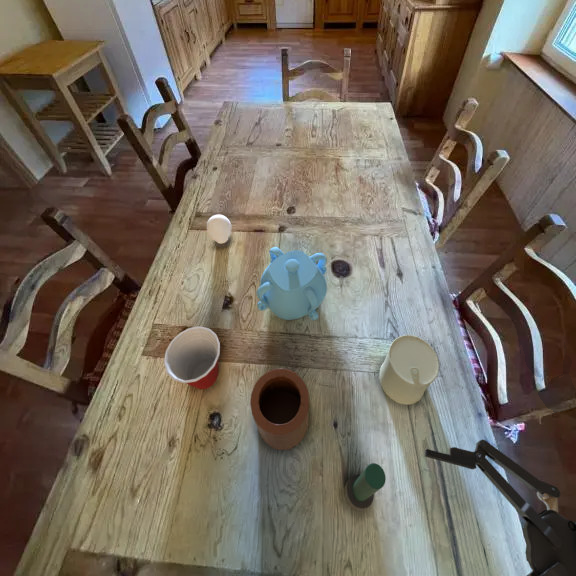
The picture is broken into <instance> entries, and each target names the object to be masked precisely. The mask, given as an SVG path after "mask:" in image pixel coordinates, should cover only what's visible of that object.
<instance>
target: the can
mask: <svg viewBox="0 0 576 576" xmlns="http://www.w3.org/2000/svg"><path fill="white" fill-rule="evenodd" d="M439 372H440V361H439V357H438V355H437V353H436V351H435V349H434V348H433V347H432V346H431V345H430V344H429V343H428V342H427V341H426V340H425V339H423V338H421V337H419V336H416V335H412V334H403V335H399V336H397V337H396V338H395V339H394V340H393V341H392V342H391V344H389V348H388V352H387V353H386V356H385V359H384V361H383V362H382V364H381V366H380V368H379V374H378V377H379V378H378V379H379V383H380V386H381V388H382V390H383V391H384V393H385V394H386V395H387V396H388V397H389V398H390V399H391V400H392V401H394V402H395V403H398V404H400V405H405V406H406V405H407V406H408V405H414V404H416V403H418V402H419V401H420V400H421V399H422V397H423V395H424V393H425V392H426V390H427V389H428V388H429V386H430V385H431V384H433V382H434V381H435V380H436V379H437V378H438V375H439Z"/></svg>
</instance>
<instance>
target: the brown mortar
mask: <svg viewBox="0 0 576 576" xmlns="http://www.w3.org/2000/svg"><path fill="white" fill-rule="evenodd" d="M249 404H250V410H251V415H252V417H253V420H254V423H255V425H256V428H257V431H258V432H259V434H260V436H261V438H262V440H263V441H264V442H265V444H267V446H269V447H270V448H271V449H275V450H277V451H287V450H291V449H293V448H295V447H296V446H298V445H300V443H301V442H302V441H303V439H304V438H305V436H306V433H307V430H308V427H309V421H310V419H309V418H310V417H309V416H310V394H309V390H308V387H307V384H306V383H305V382H304V380H303V378H302V377H301V376H300V375H299V374H298V373H296V372H295V371H293V370H291V369H288V368H280V367H279V368H278V367H276V368H273V369H270V370H268V371H267V372H264V373H263V374H262V375H261V376H260V377H259V378H258V379H257V381H256V382H255V383H254V385H253V388H252V391H251V393H250V403H249Z"/></svg>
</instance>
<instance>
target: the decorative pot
mask: <svg viewBox="0 0 576 576" xmlns="http://www.w3.org/2000/svg"><path fill="white" fill-rule="evenodd" d="M268 252H269V253H268V254H269V257H270V263H269V264H268V266H267V267H266V268H265V269H264V271H263V273H262V274H261V277H260V281H259V287H258V289H256V296H257V299H258V300H259V301H258V302H257V304H256V307H257V310H258V311H261V312H263V311H266V310H268V309H269V310H270V311H271V312H272V313H273V314H274V315H275V316H276V317H277V318H279V319H281V320H285V321H293V320H297V319H300V318H303V317H306V316H308V317H309V319H310V320H311V321H315V320H318V318H319V313H318V312H317V311H316V310H317V308H318V307H319V306H320V305H321V304H322V303H323V301H324V300H325V298H326V296H327V293H328V292H327V291H328V285H327V280H326V277H325V274H326V273H327V271H328V270H327V266H326V263H327V257H326V255H325V254H324V253H323V252H316V253H314V254H312V255H310V256H309V255H308V254H307V253H305V252H304V251H302V250H297V249H295V250H290V251H287V252H283V251H282V250H281V248H279V247H278V246H273V247H271V248H270V249H269V251H268ZM317 262H318V263H317Z"/></svg>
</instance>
